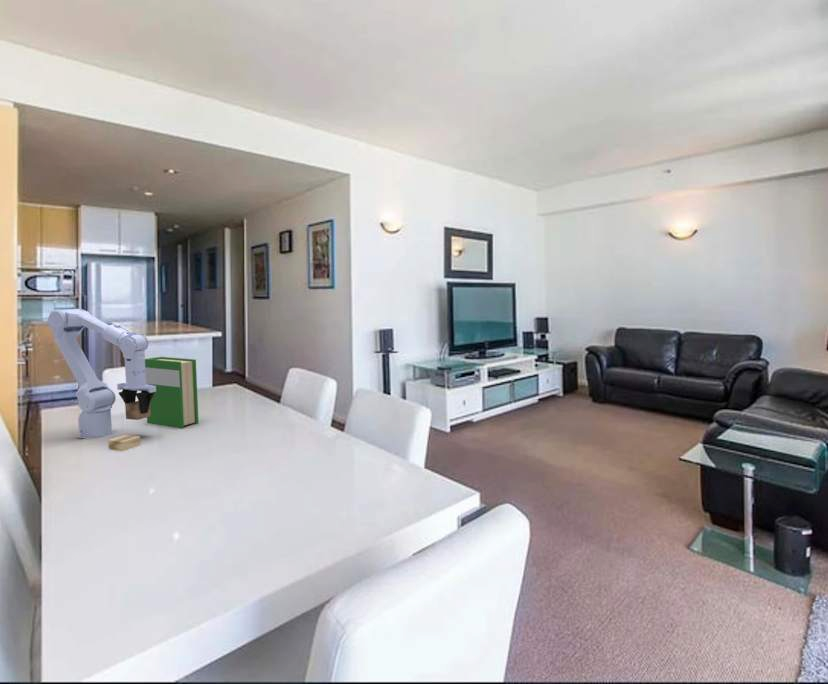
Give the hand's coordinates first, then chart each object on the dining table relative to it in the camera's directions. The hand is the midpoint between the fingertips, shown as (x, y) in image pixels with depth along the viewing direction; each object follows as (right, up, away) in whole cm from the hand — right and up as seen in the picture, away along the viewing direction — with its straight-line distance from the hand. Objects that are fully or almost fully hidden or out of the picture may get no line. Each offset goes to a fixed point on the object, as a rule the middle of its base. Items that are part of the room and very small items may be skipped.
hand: (137, 412), depth 157 cm
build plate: (+1, -10, -9) cm, 14 cm away
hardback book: (+2, -7, +20) cm, 21 cm away
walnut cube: (0, -2, 0) cm, 2 cm away
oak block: (+2, -9, -10) cm, 14 cm away
